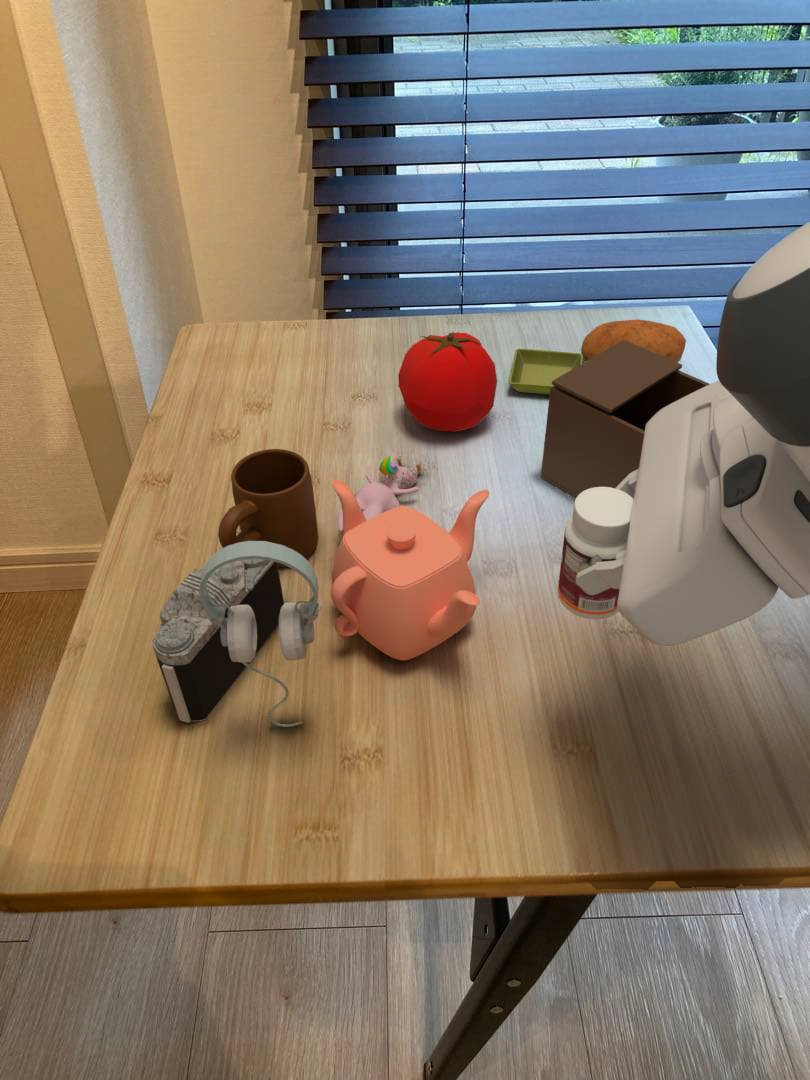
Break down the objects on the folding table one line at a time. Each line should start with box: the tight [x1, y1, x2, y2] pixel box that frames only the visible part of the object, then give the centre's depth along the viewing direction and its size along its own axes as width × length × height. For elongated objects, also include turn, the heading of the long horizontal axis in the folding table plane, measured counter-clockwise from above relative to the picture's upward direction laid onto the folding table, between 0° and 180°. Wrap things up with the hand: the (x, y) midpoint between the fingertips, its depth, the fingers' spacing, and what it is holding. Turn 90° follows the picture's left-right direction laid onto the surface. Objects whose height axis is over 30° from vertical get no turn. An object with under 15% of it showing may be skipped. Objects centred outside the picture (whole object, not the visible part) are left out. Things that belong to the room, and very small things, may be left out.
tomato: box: [397, 331, 498, 433], centre depth 98 cm, size 12×12×11 cm
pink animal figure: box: [336, 454, 424, 532], centre depth 88 cm, size 6×6×15 cm
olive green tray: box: [508, 348, 584, 396], centre depth 107 cm, size 9×9×2 cm
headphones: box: [199, 541, 322, 728], centre depth 63 cm, size 8×4×20 cm, turn 92°
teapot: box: [330, 478, 490, 661], centre depth 74 cm, size 14×14×11 cm
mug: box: [217, 448, 319, 568], centre depth 81 cm, size 12×8×9 cm, turn 153°
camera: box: [151, 559, 285, 723], centre depth 72 cm, size 15×7×10 cm, turn 155°
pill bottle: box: [557, 487, 634, 620], centre depth 57 cm, size 5×5×8 cm
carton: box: [540, 340, 710, 499], centre depth 88 cm, size 15×12×12 cm
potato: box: [580, 319, 687, 363], centre depth 107 cm, size 7×13×7 cm, turn 61°
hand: (589, 550), depth 57 cm, fingers closed on pill bottle, 5 cm apart
